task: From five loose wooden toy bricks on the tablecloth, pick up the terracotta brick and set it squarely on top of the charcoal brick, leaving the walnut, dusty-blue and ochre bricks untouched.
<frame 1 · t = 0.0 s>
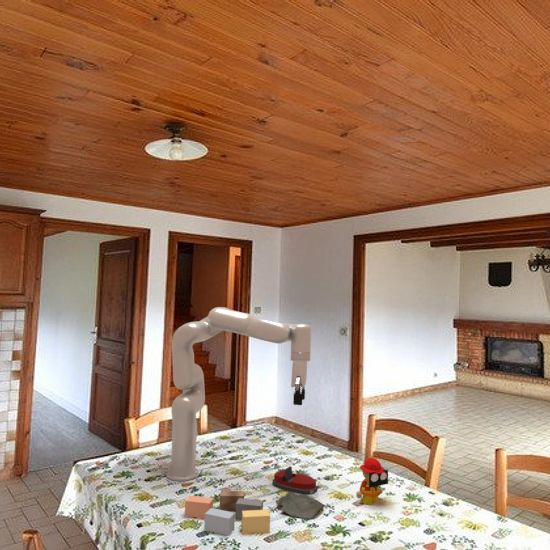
hand: (299, 402, 169), 31 cm above the table, tool pointing down, fingers open, 9 cm apart
bumper car: (291, 487, 167), on the table
terracotta brick: (198, 515, 142), on the table
toy: (371, 502, 156), on the table
artifact: (299, 510, 149), on the table
walnut brick: (231, 508, 148), on the table
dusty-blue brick: (219, 530, 133), on the table
charcoal brick: (249, 518, 141), on the table
ochre brick: (255, 530, 134), on the table
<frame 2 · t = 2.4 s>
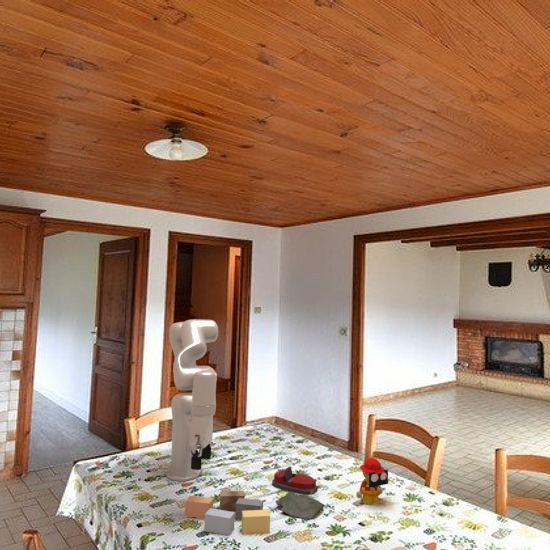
hand: (201, 464, 143), 16 cm above the table, tool pointing down, fingers open, 9 cm apart
nothing on the table moved.
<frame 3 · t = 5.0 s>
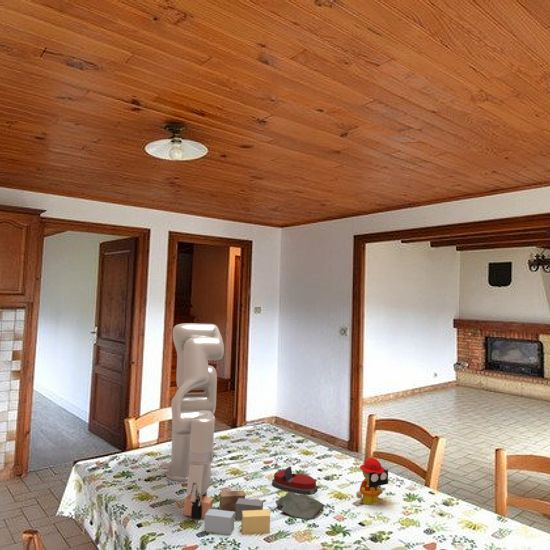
hand: (198, 514, 142), 0 cm above the table, tool pointing down, fingers closed on terracotta brick, 3 cm apart
terracotta brick: (197, 514, 142), on the table, tilted 5°, touching gripper
everything else where it was.
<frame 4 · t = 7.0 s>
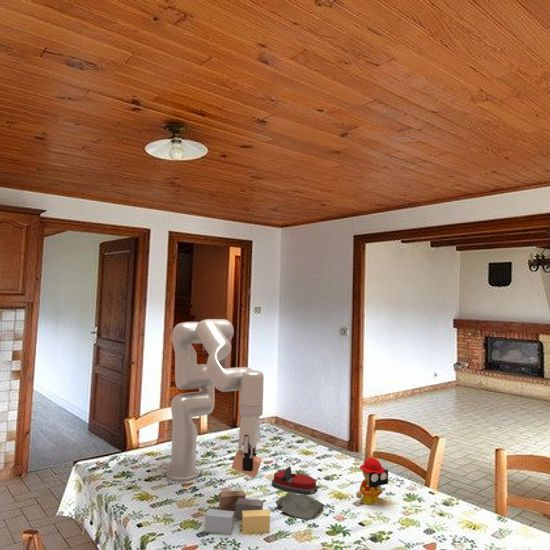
hand: (249, 467, 142), 16 cm above the table, tool pointing down, fingers closed on terracotta brick, 4 cm apart
terracotta brick: (244, 470, 143), point 14 cm above the table, tilted 17°, touching gripper
everything else where it was.
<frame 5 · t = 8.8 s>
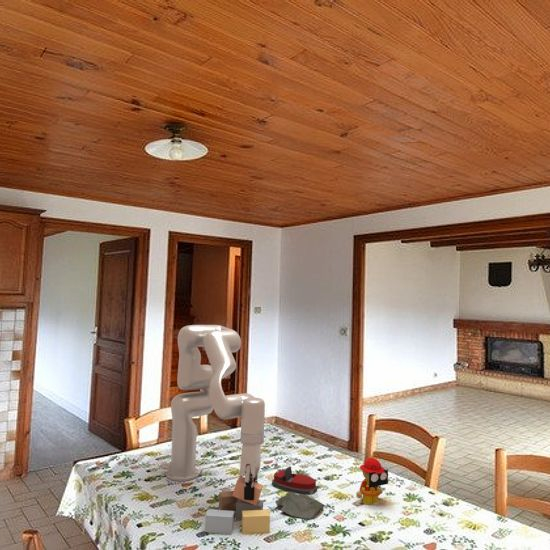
hand: (250, 496, 142), 7 cm above the table, tool pointing down, fingers closed on terracotta brick, 4 cm apart
terracotta brick: (245, 498, 142), point 6 cm above the table, tilted 15°, touching charcoal brick, gripper
charcoal brick: (249, 517, 141), on the table, touching terracotta brick
everything else where it was.
when the fingers open (6 cm above the table, at t = 9.5 s): terracotta brick drops 1 cm, resting on charcoal brick.
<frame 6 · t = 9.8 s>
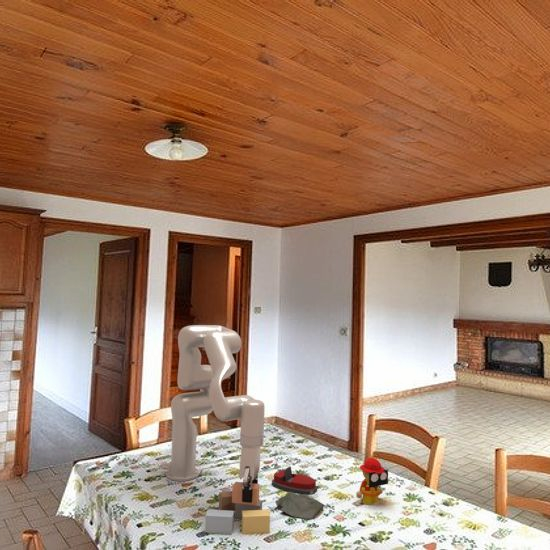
hand: (249, 496, 142), 7 cm above the table, tool pointing down, fingers open, 7 cm apart
terracotta brick: (245, 501, 142), point 5 cm above the table, touching charcoal brick
everything else where it was.
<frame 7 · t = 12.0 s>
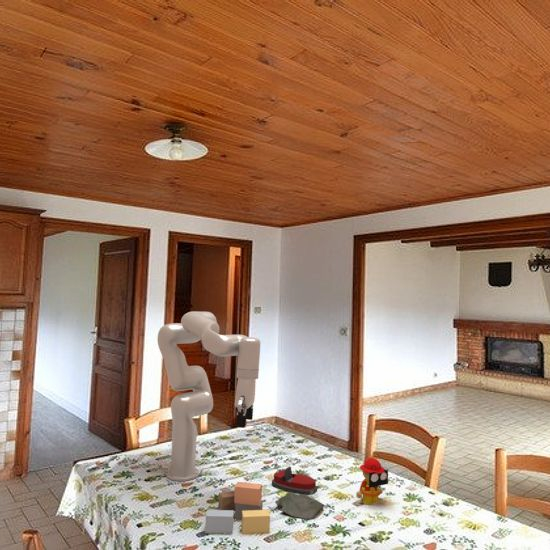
hand: (244, 423, 154), 27 cm above the table, tool pointing down, fingers open, 9 cm apart
nothing on the table moved.
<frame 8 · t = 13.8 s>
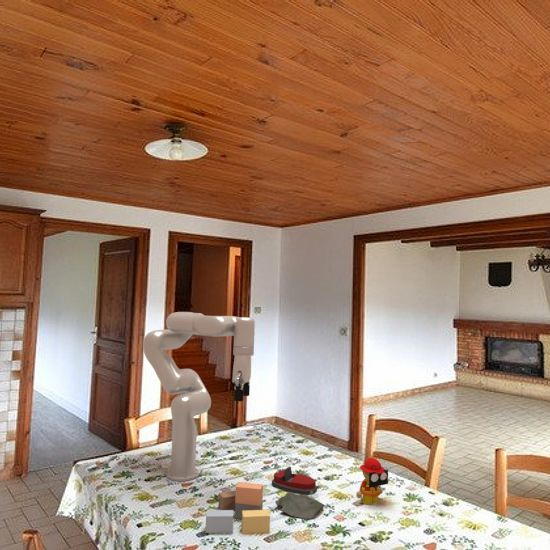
hand: (241, 398, 163), 33 cm above the table, tool pointing down, fingers open, 9 cm apart
at the end: terracotta brick 0.1 cm off-centre on the charcoal brick, point 5.0 cm above the charcoal brick's base; terracotta brick tilted 0°; walnut brick moved 0.2 cm from its start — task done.
